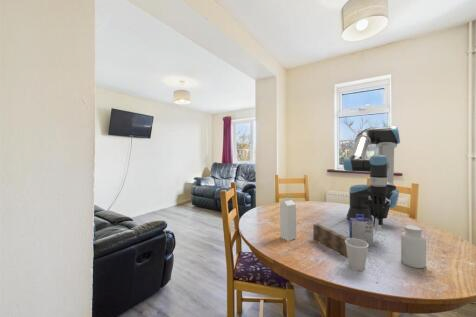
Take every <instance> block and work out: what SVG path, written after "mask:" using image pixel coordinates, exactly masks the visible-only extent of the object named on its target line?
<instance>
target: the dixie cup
mask: <svg viewBox="0 0 476 317" xmlns="http://www.w3.org/2000/svg"><path fill="white" fill-rule="evenodd" d="M345 243H346V250H347V257H348V258H347V263H348V264H347V265H348V267H349V268H350V269H352V270H354V271H359V272H360V271H361V272H362V271H365V270H366V263H367V262H366V261H367V255H368V248H369V245H368V243H367V242H365V241H363V240H360V239H354V238H350V239H346V240H345Z"/></svg>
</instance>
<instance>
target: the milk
mask: <svg viewBox="0 0 476 317" xmlns="http://www.w3.org/2000/svg"><path fill="white" fill-rule="evenodd" d="M279 211H280V212H279V216H280V218H279V219H280V220H279V222H280V226H279V227H280V231H279V232H280V239H282V238H283V239H282V240H284V239H285V241H286V240H287V241H286V242H290V240H291V241H293V239H294V240H297V205H296V203H295V202H294V201H293V197H286V198H283V201H282V202H280V203H279Z"/></svg>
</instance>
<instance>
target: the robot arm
mask: <svg viewBox="0 0 476 317" xmlns="http://www.w3.org/2000/svg"><path fill="white" fill-rule="evenodd" d="M399 131H400V130H399V128H398V126H395V125H394V126H391V125H389V126H380V127H379V126H377V127H374V126H373V127H368V128H365V129H364V130H361V131H360V132H359V133H358V134H357V135H356V137H355V140H354V146H353V148H352V151H351V154H350V156H349V158H344V159H343V164H342V165H343V169H344V171H346V172H362V173H363V172H364V173H365V172H366V173H369V184H354V185H351V186H350V187H349V208H348V211H347V213H346V219H347V220H348V221H349V218H356V214H363V215H364V218H369V219H371V220H372V221H373V224H374V231H375V232H382V226H383V225H384V224H383V222H384V221H383V219H384V220H385V219H387V218H388V215H389V211H390V209H395V208H396V207H397V205H398V202H399V197H400V195H399V194H400V190H399V188H397V186H396V185H395V184H394V174H395V173H394V172H395V168H394V167H395V148H397V147H398V145H399V144H400V143H401V139H400V133H399ZM370 145H375V147H376V148H377V149H378V153H377V154H378V155H371V156H370V157H369V158H365V157H366V153H367V150H368V147H369V146H370ZM357 217H363V216H361V215H359V216H357Z"/></svg>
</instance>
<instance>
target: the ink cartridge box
mask: <svg viewBox="0 0 476 317" xmlns="http://www.w3.org/2000/svg"><path fill="white" fill-rule="evenodd" d="M359 215H361V216H363V217H357V216H359ZM348 230H349V231H348V234H349V237H348V238H349V239H350V238H354V239H360V240H363V241H365V242H367V243H368V245H369V246H370V247H373V246H374V220H373V221H372V220H371V219H369V218H364V215H363V214H356V218H349V220H348ZM369 246H368V247H369Z"/></svg>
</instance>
